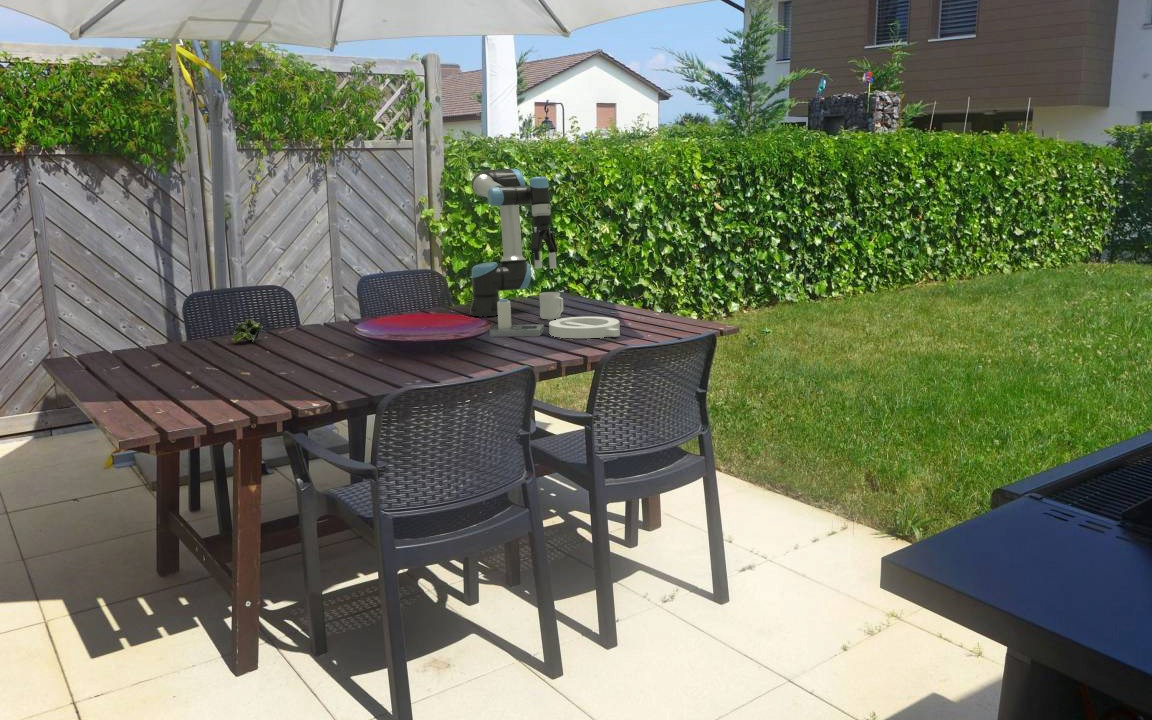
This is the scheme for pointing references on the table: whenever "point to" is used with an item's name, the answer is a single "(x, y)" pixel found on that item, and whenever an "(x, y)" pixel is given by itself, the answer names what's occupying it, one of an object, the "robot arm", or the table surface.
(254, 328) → the green leafy plant
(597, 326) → the white circle with bar
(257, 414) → the table surface
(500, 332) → the panel
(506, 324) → the white tall block
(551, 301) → the mug
